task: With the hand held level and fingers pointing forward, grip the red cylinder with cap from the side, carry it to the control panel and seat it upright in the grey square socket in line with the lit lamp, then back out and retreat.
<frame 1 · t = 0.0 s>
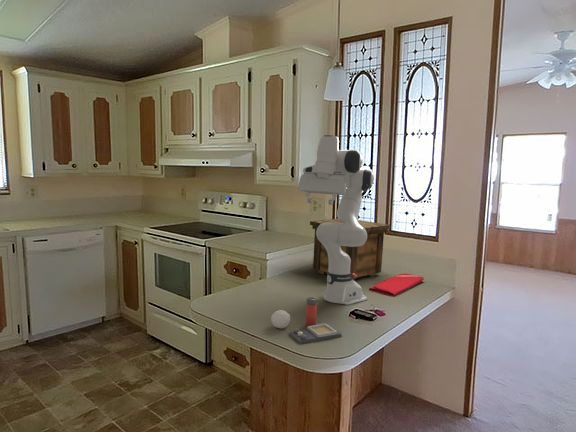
hand: (319, 203, 171), 52 cm above the counter, fingers open, 8 cm apart
control panel: (315, 335, 165), on the counter
red cylinder with cap: (310, 326, 175), on the counter
crate: (346, 274, 261), on the counter
red flat block: (397, 287, 240), on the counter
white swirled ball: (280, 328, 172), on the counter
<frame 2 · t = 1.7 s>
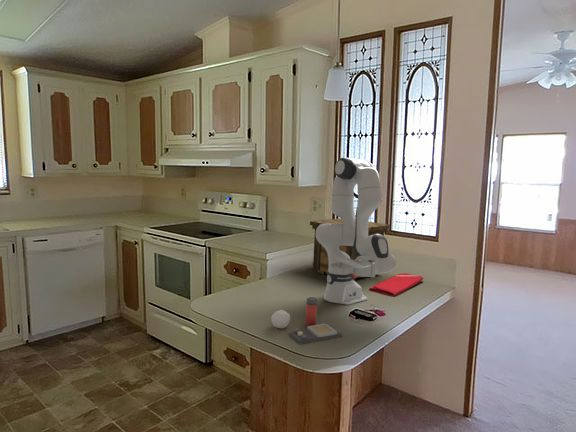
hand: (336, 268, 177), 24 cm above the counter, fingers open, 8 cm apart
nothing on the counter moved.
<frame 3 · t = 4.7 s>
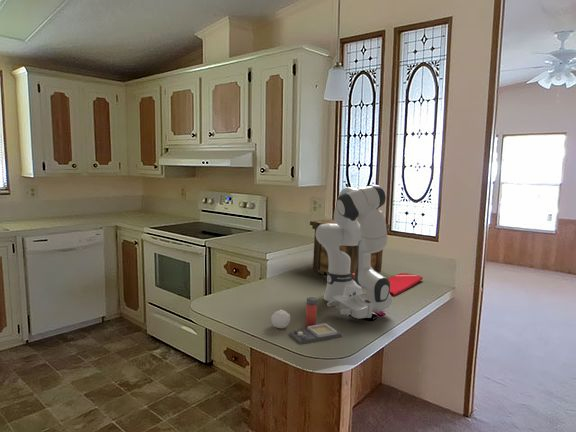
hand: (333, 308, 179), 6 cm above the counter, fingers open, 8 cm apart
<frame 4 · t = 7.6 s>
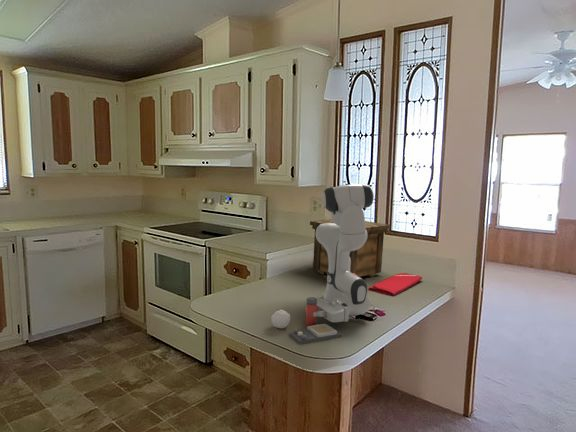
hand: (309, 311, 173), 7 cm above the counter, fingers closed on red cylinder with cap, 4 cm apart
red cylinder with cap: (310, 326, 175), on the counter, touching gripper
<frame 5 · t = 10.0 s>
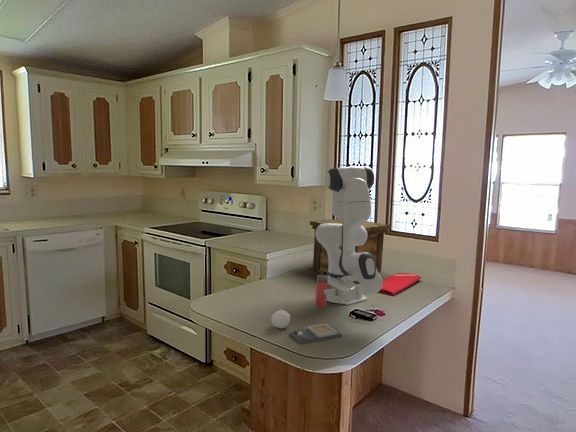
hand: (319, 289, 165), 18 cm above the counter, fingers closed on red cylinder with cap, 4 cm apart
red cylinder with cap: (320, 305, 166), point 12 cm above the counter, touching gripper
when the fingers open (9 cm above the counter, at t = 12.6 s): red cylinder with cap drops 1 cm, resting on control panel.
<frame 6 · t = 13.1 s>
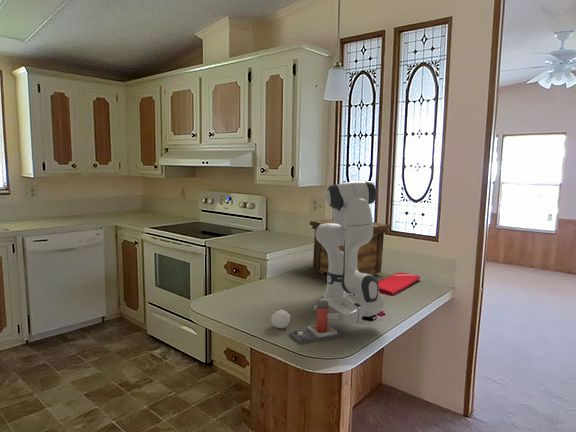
hand: (321, 312, 165), 9 cm above the counter, fingers open, 8 cm apart
red cylinder with cap: (321, 330, 167), point 2 cm above the counter, touching control panel
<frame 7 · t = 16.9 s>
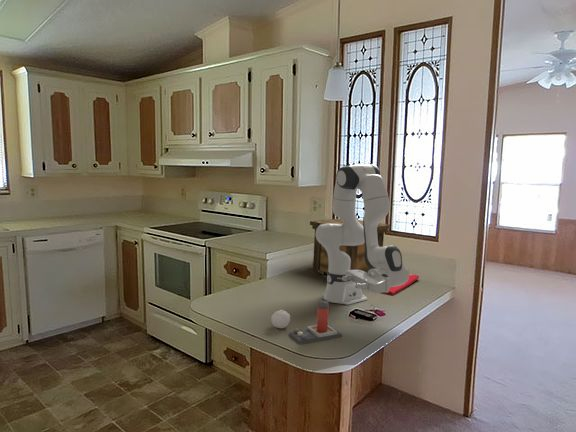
hand: (349, 282, 170), 20 cm above the counter, fingers open, 8 cm apart
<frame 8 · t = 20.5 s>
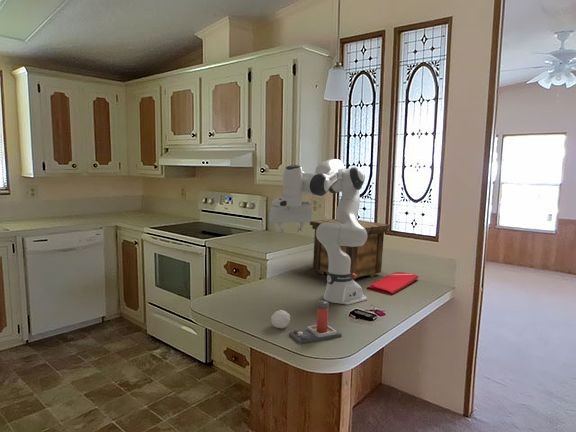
hand: (290, 232, 187), 37 cm above the counter, fingers open, 8 cm apart
at the end: red cylinder with cap 0.0 cm from the target spot, point 1.5 cm above the counter; red cylinder with cap tilted 1°; the gripper is holding nothing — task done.
